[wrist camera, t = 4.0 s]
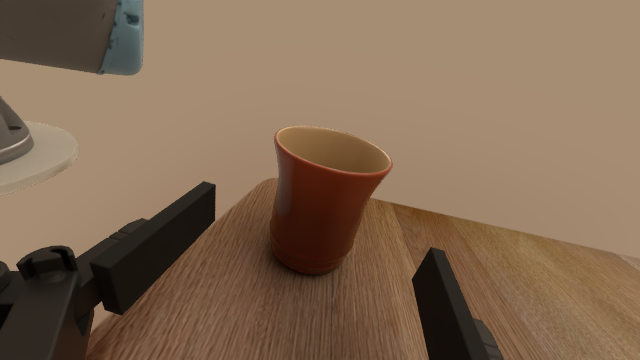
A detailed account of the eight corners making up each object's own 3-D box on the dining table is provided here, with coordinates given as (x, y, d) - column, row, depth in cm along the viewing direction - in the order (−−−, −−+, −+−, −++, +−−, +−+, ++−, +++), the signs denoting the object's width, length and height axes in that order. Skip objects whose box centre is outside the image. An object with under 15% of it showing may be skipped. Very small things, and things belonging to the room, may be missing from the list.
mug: (335, 309, 17) (383, 191, 12) (237, 256, 19) (247, 139, 15) (368, 224, 27) (402, 141, 23) (302, 196, 30) (320, 115, 25)
